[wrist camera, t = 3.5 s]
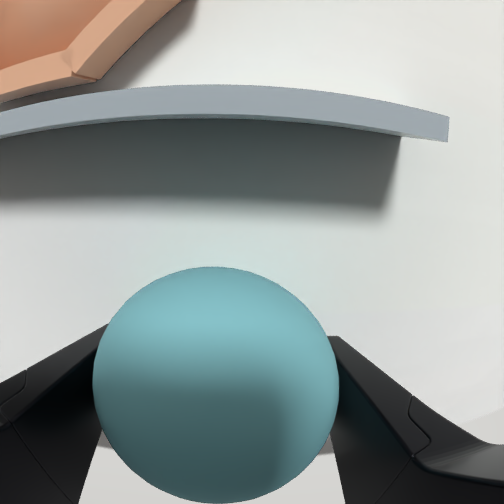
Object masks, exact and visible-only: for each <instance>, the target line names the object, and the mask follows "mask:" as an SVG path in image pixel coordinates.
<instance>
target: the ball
mask: <svg viewBox="0 0 504 504" xmlns="http://www.w3.org/2000/svg"><path fill="white" fill-rule="evenodd" d="M92 387H93V395H94V403H95V409H96V412H97V415H98V418H99V421H100V424H101V427H102V430H103V431H104V433H105V435H106V437H107V439H108V441H109V442H110V444H111V446H112V448H113V449H114V450H115V452H116V453H117V454H118V456H119V457H120V458H121V459H122V460H123V461H124V462H125V464H126V465H127V466H128V467H129V468H130V469H131V470H132V471H134V472H135V473H136V474H137V475H139V476H140V477H141V478H143V479H144V480H145V481H146V482H148V483H150V484H151V485H153V486H155V487H156V488H158V489H160V490H162V491H165V492H167V493H169V494H172V495H174V496H177V497H179V498H183V499H186V500H190V501H195V502H201V503H213V504H223V503H234V502H242V501H247V500H251V499H255V498H257V497H260V496H263V495H265V494H268V493H270V492H272V491H275V490H277V489H279V488H281V487H282V486H284V485H285V484H287V483H288V482H289V481H291V480H292V479H294V478H295V477H297V476H298V475H299V474H300V473H301V472H302V471H303V470H304V469H305V468H306V467H307V466H308V465H309V464H310V463H311V462H312V461H313V460H314V458H315V457H316V456H317V454H318V453H319V451H320V450H321V448H322V447H323V445H324V444H325V442H326V440H327V438H328V436H329V433H330V431H331V428H332V426H333V423H334V420H335V416H336V412H337V406H338V401H339V376H338V370H337V364H336V360H335V355H334V352H333V350H332V347H331V345H330V342H329V340H328V338H327V335H326V333H325V332H324V330H323V328H322V327H321V325H320V323H319V322H318V321H317V319H316V318H315V317H314V315H313V314H312V313H311V312H310V311H309V309H308V308H307V307H306V306H305V305H304V304H303V303H302V302H301V301H300V300H299V299H297V298H296V297H295V296H294V295H293V294H291V293H290V292H289V291H287V290H286V289H284V288H283V287H281V286H280V285H278V284H277V283H275V282H273V281H271V280H269V279H267V278H265V277H262V276H259V275H257V274H254V273H251V272H248V271H243V270H239V269H234V268H225V267H199V268H192V269H186V270H183V271H179V272H175V273H172V274H169V275H167V276H165V277H162V278H160V279H157V280H155V281H153V282H152V283H150V284H149V285H147V286H145V287H144V288H142V289H141V290H140V291H138V292H137V293H136V294H134V295H133V296H132V297H131V298H130V299H129V300H127V301H126V302H125V303H124V305H123V306H122V307H121V308H120V309H119V311H118V312H117V313H116V314H115V316H114V317H113V318H112V319H111V321H110V323H109V325H108V326H107V328H106V330H105V332H104V334H103V336H102V338H101V340H100V343H99V346H98V350H97V353H96V357H95V361H94V369H93V383H92Z"/></svg>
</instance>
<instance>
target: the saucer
mask: <svg viewBox="0 0 504 504" xmlns="http://www.w3.org/2000/svg"><path fill="white" fill-rule="evenodd" d="M180 1H182V0H0V102H6V101H10V100H13V99H17V98H21V97H25V96H28V95H32V94H37V93H41V92H45V91H50V90H54V89H59V88H64V87H69V86H75V85H80V84H86V83H92V82H96V79H99V80H100V79H101V78H102V77H103V76H104V74H105V73H106V72H107V71H108V70H109V69H110V68H111V67H112V66H113V65H114V63H115V62H116V61H117V60H118V59H119V58H120V57H121V56H122V55H123V54H124V53H125V52H126V51H127V50H128V49H129V48H130V47H131V46H132V45H133V44H134V43H135V42H136V41H137V40H138V39H139V38H140V37H141V36H142V35H143V34H144V33H145V32H146V31H147V30H148V29H149V28H150V27H152V26H153V25H154V24H155V23H156V22H157V21H158V20H159V19H160V18H162V17H163V16H164V15H165V14H166V13H167V12H168V11H170V10H171V9H172V8H173V7H174V6H176V5H177V4H178V3H179V2H180Z"/></svg>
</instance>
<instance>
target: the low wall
mask: <svg viewBox="0 0 504 504" xmlns="http://www.w3.org/2000/svg"><path fill="white" fill-rule="evenodd" d="M179 118H226V119H255V120H273V121H287V122H299V123H310V124H320V125H329V126H337V127H345V128H352V129H359V130H366V131H372V132H379V133H385V134H390V135H396V136H401V137H410V138H419V139H427V140H435V141H442V142H448V131H449V117H448V116H444V115H441V114H437V113H433V112H429V111H425V110H421V109H417V108H413V107H409V106H405V105H400V104H395V103H391V102H386V101H381V100H375V99H370V98H364V97H358V96H352V95H346V94H339V93H332V92H324V91H316V90H307V89H297V88H285V87H272V86H254V85H173V86H155V87H142V88H131V89H121V90H112V91H104V92H97V93H90V94H83V95H77V96H71V97H65V98H60V99H55V100H50V101H45V102H40V103H36V104H31V105H27V106H23V107H19V108H15V109H11V110H7V111H3V112H0V139H1V138H6V137H11V136H16V135H21V134H26V133H32V132H38V131H44V130H50V129H57V128H64V127H71V126H79V125H88V124H97V123H108V122H119V121H133V120H150V119H179Z"/></svg>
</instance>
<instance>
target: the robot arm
mask: <svg viewBox="0 0 504 504" xmlns="http://www.w3.org/2000/svg"><path fill="white" fill-rule="evenodd" d="M108 325H109V324H106V325H105V326H103V327H101V328H99V329H97V330H96V331H94V332H92V333H90V334H88V335H87V336H85V337H83V338H81V339H79V340H78V341H76V342H74V343H72V344H70V345H69V346H67V347H65V348H63V349H61V350H60V351H58V352H56V353H54V354H52V355H51V356H49V357H47V358H45V359H43V360H42V361H40V362H38V363H36V364H34V365H33V366H31V367H29V368H27V371H26V370H24V371H22V372H20V373H18V374H16V375H15V376H13V377H11V378H9V379H7V380H5V381H3V382H1V383H0V504H78V503H79V499H80V496H81V493H82V489H83V486H84V483H85V480H86V477H87V473H88V470H89V467H90V464H91V461H92V458H93V455H94V452H95V449H96V446H97V443H98V440H99V437H100V435H101V432H102V427H101V424H100V421H99V418H98V415H97V412H96V409H95V403H94V395H93V387H92V383H93V369H94V361H95V357H96V353H97V350H98V346H99V343H100V340H101V338H102V336H103V334H104V332H105V330H106V328H107V326H108ZM327 338H328V340H329V342H330V345H331V347H332V350H333V352H334V355H335V360H336V364H337V370H338V376H339V401H338V406H337V412H336V416H335V420H334V423H333V426H332V428H331V431H330V436H331V440H332V444H333V449H334V453H335V458H336V462H337V466H338V471H339V475H340V480H341V485H342V490H343V494H344V499H345V504H504V445H496V444H490V443H487V442H484V441H482V440H480V439H478V438H476V437H475V436H473V435H471V434H470V433H468V432H466V431H465V430H463V429H461V428H460V427H458V426H457V425H455V424H453V423H452V422H450V421H449V420H447V419H446V418H444V417H442V416H441V415H439V414H438V413H436V412H435V411H434V410H432V409H431V408H429V407H428V406H427V405H425V404H424V403H423V402H421V401H420V400H419V399H418V398H416V397H415V396H412V394H411V393H410V392H408V391H407V390H406V389H405V388H403V387H402V386H401V385H400V384H398V383H397V382H396V381H394V380H393V379H392V378H391V377H389V376H388V375H387V374H386V373H384V372H383V371H382V370H380V369H379V368H378V367H377V366H375V365H374V364H373V363H372V362H370V361H369V360H368V359H367V358H365V357H364V356H363V355H362V354H360V353H359V352H358V351H356V350H355V349H354V348H353V347H351V346H350V345H349V344H348V343H346V342H345V341H344V340H343V339H341V338H340V337H339V336H327Z"/></svg>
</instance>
